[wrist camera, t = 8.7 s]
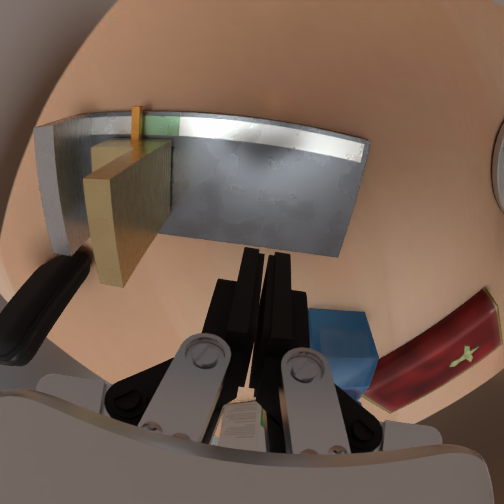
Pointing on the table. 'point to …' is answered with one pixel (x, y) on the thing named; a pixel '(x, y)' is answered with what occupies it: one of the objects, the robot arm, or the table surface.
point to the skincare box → (243, 427)
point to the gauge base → (215, 178)
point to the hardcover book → (437, 354)
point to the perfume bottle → (345, 347)
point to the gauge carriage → (126, 200)
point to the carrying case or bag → (39, 307)
